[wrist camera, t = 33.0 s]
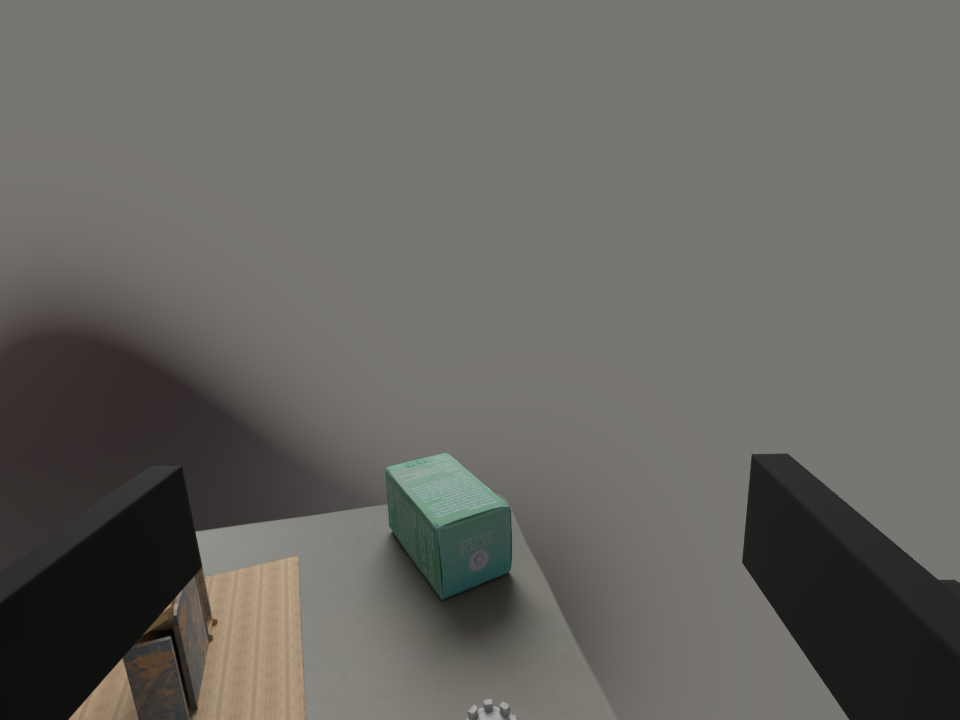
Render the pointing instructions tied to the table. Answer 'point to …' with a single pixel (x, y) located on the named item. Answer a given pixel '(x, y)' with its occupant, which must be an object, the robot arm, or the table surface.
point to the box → (449, 523)
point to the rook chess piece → (491, 712)
